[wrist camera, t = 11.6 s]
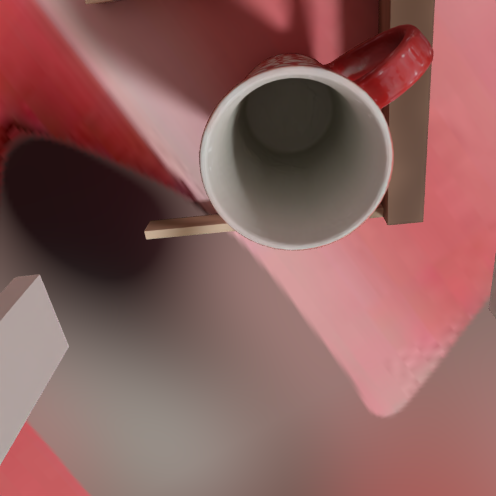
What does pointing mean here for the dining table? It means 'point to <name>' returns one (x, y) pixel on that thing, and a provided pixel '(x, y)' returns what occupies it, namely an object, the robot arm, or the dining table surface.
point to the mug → (309, 141)
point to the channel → (401, 128)
